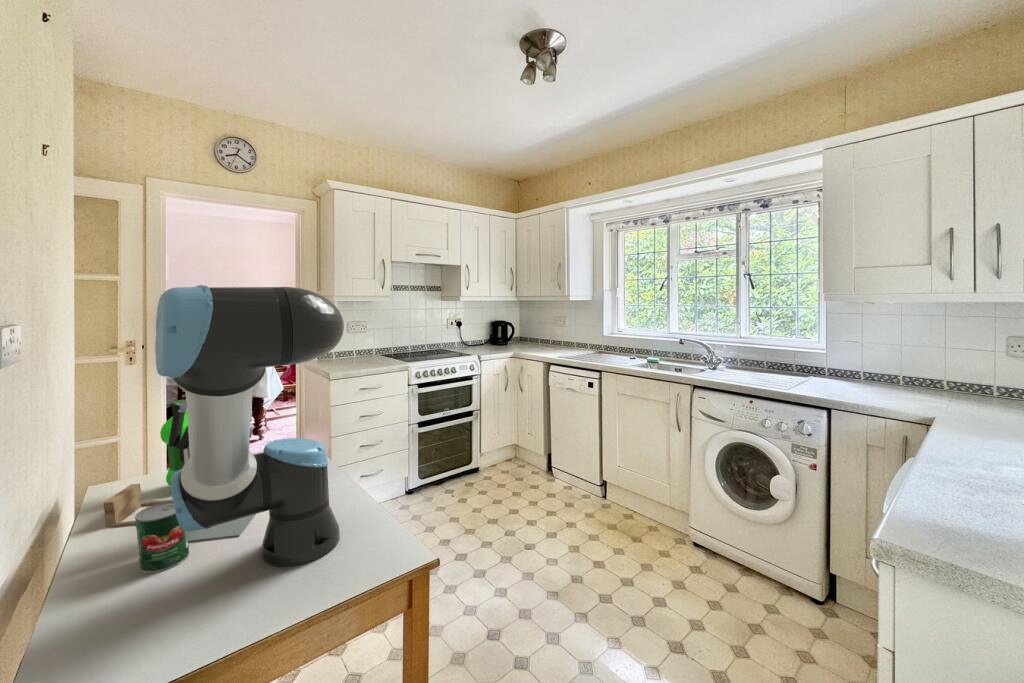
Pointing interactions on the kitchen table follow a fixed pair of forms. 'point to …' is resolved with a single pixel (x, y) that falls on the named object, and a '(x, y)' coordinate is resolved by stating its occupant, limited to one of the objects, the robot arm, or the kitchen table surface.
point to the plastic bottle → (173, 451)
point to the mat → (221, 530)
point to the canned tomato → (160, 538)
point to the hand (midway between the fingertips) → (213, 472)
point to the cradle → (125, 506)
